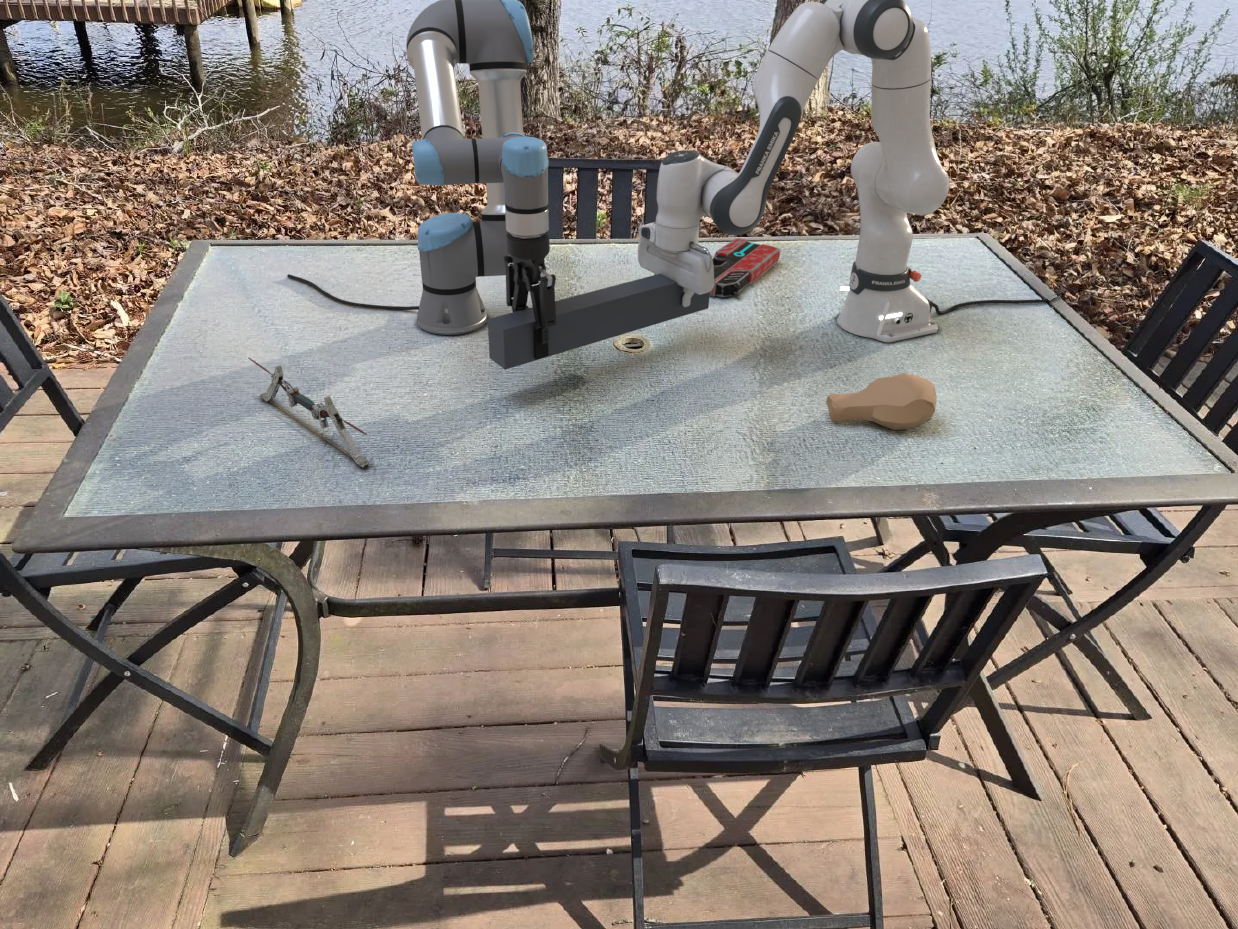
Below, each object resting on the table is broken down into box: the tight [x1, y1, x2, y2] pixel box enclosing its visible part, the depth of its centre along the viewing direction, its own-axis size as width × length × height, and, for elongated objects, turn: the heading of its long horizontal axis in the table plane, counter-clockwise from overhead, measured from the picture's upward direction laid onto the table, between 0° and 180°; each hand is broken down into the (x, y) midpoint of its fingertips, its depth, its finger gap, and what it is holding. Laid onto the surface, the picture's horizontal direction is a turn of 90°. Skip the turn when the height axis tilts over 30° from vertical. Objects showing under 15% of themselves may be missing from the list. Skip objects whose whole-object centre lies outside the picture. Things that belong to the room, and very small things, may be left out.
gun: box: [710, 237, 781, 299], centre depth 224 cm, size 4×31×19 cm
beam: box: [487, 274, 711, 370], centre depth 174 cm, size 51×6×8 cm, turn 127°
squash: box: [825, 372, 938, 431], centre depth 163 cm, size 11×20×9 cm, turn 90°
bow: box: [247, 356, 370, 468], centre depth 154 cm, size 39×2×10 cm, turn 47°
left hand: (532, 350), depth 167 cm, fingers closed on beam, 6 cm apart
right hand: (673, 299), depth 184 cm, fingers closed on beam, 5 cm apart
